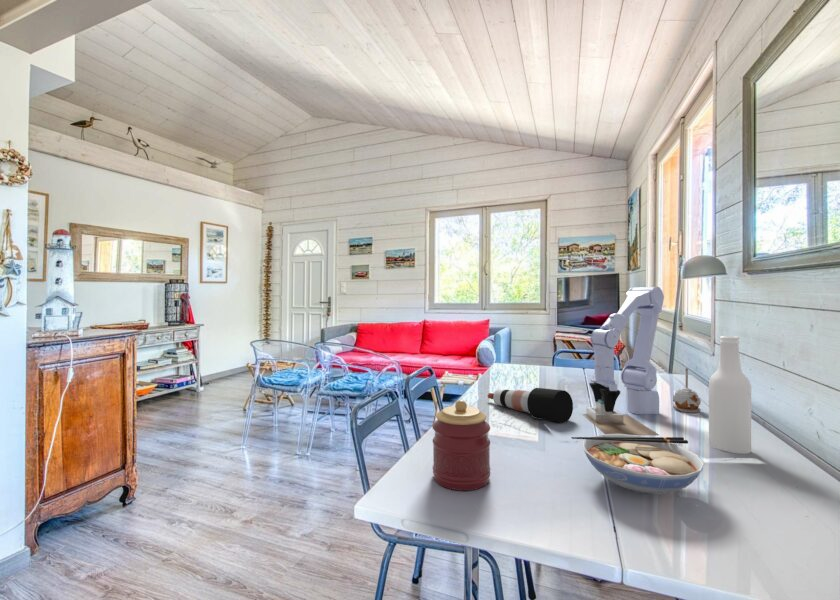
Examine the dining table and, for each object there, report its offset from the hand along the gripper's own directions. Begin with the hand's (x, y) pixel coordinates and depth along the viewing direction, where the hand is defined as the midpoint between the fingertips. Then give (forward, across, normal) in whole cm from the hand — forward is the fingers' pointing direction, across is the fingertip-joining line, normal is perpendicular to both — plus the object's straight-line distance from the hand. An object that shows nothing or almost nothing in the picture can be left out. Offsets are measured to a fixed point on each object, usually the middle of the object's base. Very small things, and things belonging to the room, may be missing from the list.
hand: (604, 408), depth 128 cm
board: (+4, +5, +2) cm, 7 cm away
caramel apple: (+5, -14, +34) cm, 37 cm away
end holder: (+3, 0, 0) cm, 3 cm away
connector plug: (+3, 0, 0) cm, 3 cm away
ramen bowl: (+5, +44, -10) cm, 45 cm away
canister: (+5, +42, -48) cm, 64 cm away
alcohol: (+5, +23, +23) cm, 33 cm away
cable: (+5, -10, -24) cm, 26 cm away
